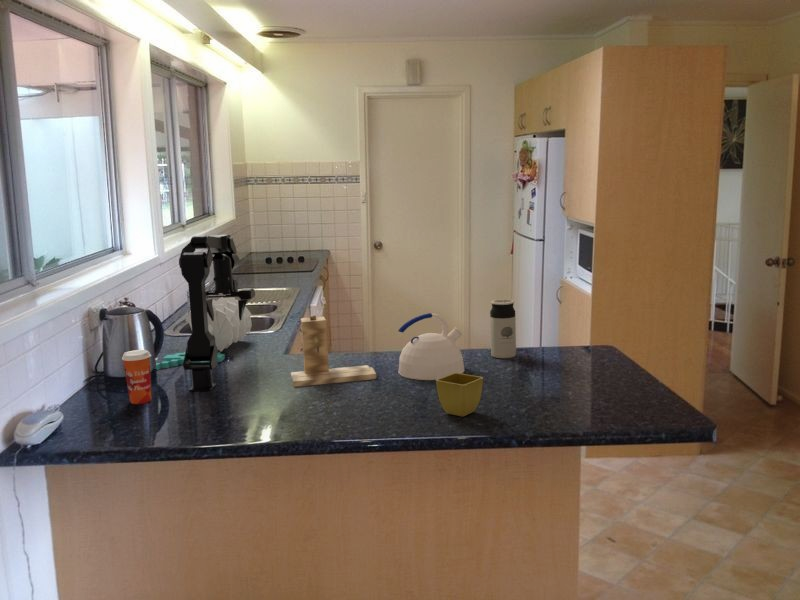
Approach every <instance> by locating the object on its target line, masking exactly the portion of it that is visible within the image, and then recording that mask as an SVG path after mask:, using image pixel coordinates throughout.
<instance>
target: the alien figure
mask: <svg viewBox="0 0 800 600" xmlns="http://www.w3.org/2000/svg"><path fill="white" fill-rule="evenodd" d="M185 352H186V350H185V351H184V352H176V353H175V354H166V355H165V356H164V357H162V362H155V363H156V369H157V370H156V371H159V370H161V369H169V368H170V367H178V366H180V365H182V366H183V362H184V357H185ZM225 355H226V354H225V353H221V352H220V351H218V353H217V363H222V362H223V361H224V360H225V358H226V356H225ZM202 362H210V361H202Z"/></svg>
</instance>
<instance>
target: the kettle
mask: <svg viewBox="0 0 800 600" xmlns="http://www.w3.org/2000/svg"><path fill="white" fill-rule="evenodd" d="M431 318H433V319H436V320H438V321H439V322H440V325H441V327H442V328H441V330H442V331H441V333H437V332H436V333H435V332H428V333H427V332H425V333H422V334H420V335H416V336H414V337H412V338H411V340H410V341H409V342H407V343H406V345H405V346H404V347H403V349H402V350H401V353H400V355H399V360H398V372H397V373H398V374H399V375H400V376H402V377H403V378H406V379H411V380H418V381H436V380H437V379H440V378H442V377H445V376H447V375H450V374H453V373H461V374H464V372H465V366H464V358H463V354H462V352H461V349H460V348H459V347H458V345H457V344H456V342H458V339H460V337H461V336H462V335H463V332H462V331H460V329H458V328H457V327H453V328H452V330H451V331H450V332H449V326H448V323H447V321H446V320H445V318H444V317H443V316H441V315H440V314H438V313H429V312H428V313H425V314H422V315H419V316H418V315H417V316H416V317H413V318H411V319H410V320H408V321H407V322H405V323H404V324H403V325H402V326H400V328H399V329H398V330H397V332H400V333H404V332H405V331H406V330H408V328H410V327H411V326H412V325H414V324H416V323H417V322H420V321H422V320H424V319H425V320H426V319H431Z"/></svg>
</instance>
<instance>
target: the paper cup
mask: <svg viewBox="0 0 800 600" xmlns="http://www.w3.org/2000/svg"><path fill="white" fill-rule="evenodd" d="M150 357H152V354H151V352H150V351H148V350H147V349H134V350H130V351H125V352H124V353H123V355H122V357H121V360H122V362H123V370H124V374H125V380H126V386H127V391H128V396H129V397H128V398H129V402H130V403H131V404H132V405H142V404H147V403H149V402H151V401H152V380H151V379H152V376H151V358H150Z"/></svg>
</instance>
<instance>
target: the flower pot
mask: <svg viewBox="0 0 800 600" xmlns="http://www.w3.org/2000/svg"><path fill="white" fill-rule="evenodd" d="M483 381H484V377H483V376H479V375H478V376H477V375H473V374H472V375H471V374H465V373H462V374H461V373H453V374H450V375H447V376H445V377H442V378H440V379H437V380H435V384H436V385H435V386H436V390H437V395H438V400H439V403H440V405H441V406H442V408H443V410H444V411H445V413H446V414H447V415H453V416H459V417H465V416H467V415H470V414H472V413H474V412H475V411H476V409H477V407H478V405H479V403H480V401H481V397H482V393H483V392H482V391H483V384H484V382H483Z"/></svg>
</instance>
